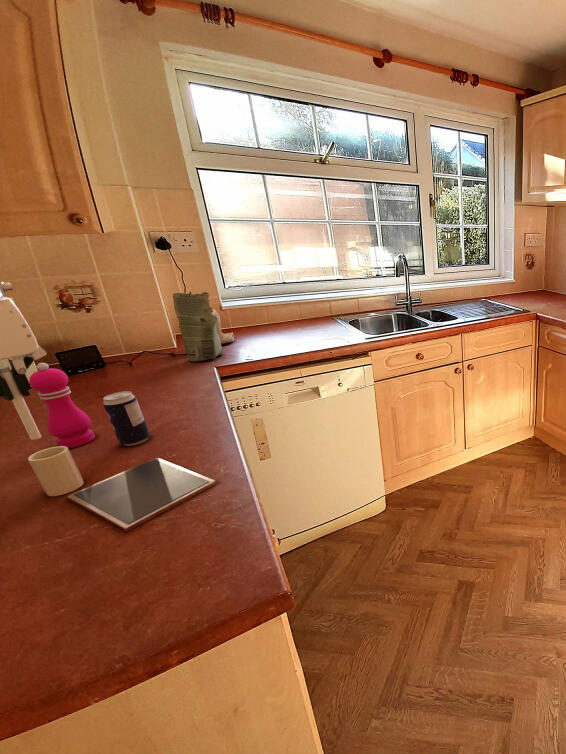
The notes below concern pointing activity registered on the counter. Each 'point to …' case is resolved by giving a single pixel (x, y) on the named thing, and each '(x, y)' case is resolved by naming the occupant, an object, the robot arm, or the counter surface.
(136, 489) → the tablet
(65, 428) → the pepper mill
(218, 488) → the counter surface
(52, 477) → the pen pot
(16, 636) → the counter surface
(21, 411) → the stylus
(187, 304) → the pouch
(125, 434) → the beverage can
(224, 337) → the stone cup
